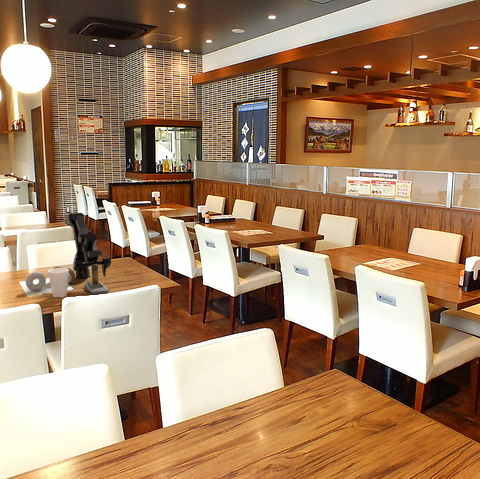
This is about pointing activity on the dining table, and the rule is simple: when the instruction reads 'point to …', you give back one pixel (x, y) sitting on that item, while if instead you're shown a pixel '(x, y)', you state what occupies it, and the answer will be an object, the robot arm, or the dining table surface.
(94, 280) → the slide handle
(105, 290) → the rail base
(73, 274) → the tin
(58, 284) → the foam cup
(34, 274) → the donut
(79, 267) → the robot arm
